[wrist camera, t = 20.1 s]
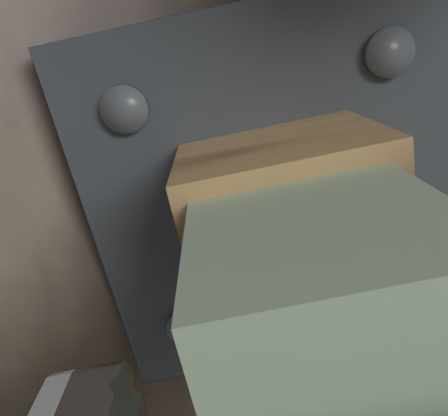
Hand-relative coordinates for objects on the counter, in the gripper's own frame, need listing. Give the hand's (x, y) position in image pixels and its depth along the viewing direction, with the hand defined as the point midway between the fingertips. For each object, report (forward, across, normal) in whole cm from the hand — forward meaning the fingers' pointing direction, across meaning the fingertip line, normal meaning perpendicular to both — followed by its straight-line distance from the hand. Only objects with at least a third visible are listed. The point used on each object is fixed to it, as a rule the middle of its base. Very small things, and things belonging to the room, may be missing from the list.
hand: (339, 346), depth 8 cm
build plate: (+9, 0, 0) cm, 9 cm away
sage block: (+3, 0, 0) cm, 3 cm away
